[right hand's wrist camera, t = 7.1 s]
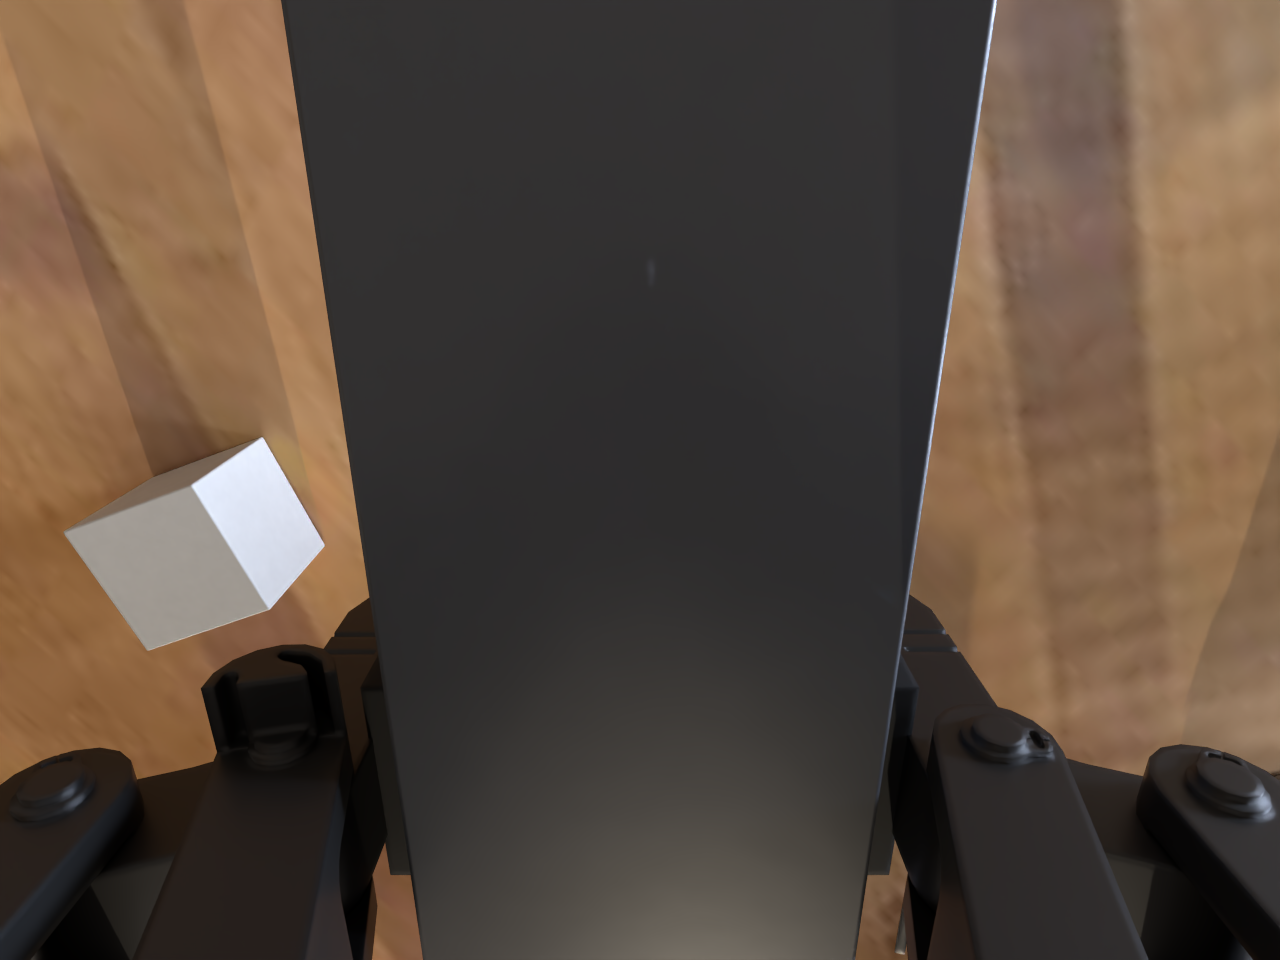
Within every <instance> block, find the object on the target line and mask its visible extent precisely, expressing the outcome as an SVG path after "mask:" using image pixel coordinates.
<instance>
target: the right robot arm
mask: <svg viewBox="0 0 1280 960" xmlns="http://www.w3.org/2000/svg"><path fill="white" fill-rule="evenodd" d="M201 691H202V695H203V699H204V703H205V707H206V711H207V714H208V718H209V722H210V726H211V730H212V734H213V738H214V742H215V746H216V750H217V754H216V756H215V759H214V761H213V762H210V763H207V764H203V765H200V766H196V767H192V768H188V769H183V770H179V771H174V772H170V773H165V774H160V775H156V776H151V777H147V778H142V779H138V780H137V778H136V775H135V772H134V769H133V765H132V762H131V760H130V759H128V758H127V757H126V756H125V755H124V754H123V753H121V752H120V751H116V750H110V749H104V748H93V749H84V750H75V751H71V752H68V753H64V754H60V755H58V756H53V757H51V758H48V759H45V760H42V761H40V762H39V763H37V764H35V765H33V766H31V767H29V768H27V769H25V770H23V771H21V772H19V773H17V774H15V775H13V776H12V777H11V778H9V779H8V780H7V781H5V782H4V783H3V784H1V785H0V960H372V954H373V944H374V934H375V924H376V914H377V900H376V894H375V887H374V881H373V876H372V875H373V872H374V869H375V867H376V864H377V862H378V859H379V856H380V854H381V851H382V849H383V846H384V843H385V844H386V850H387V856H388V862H389V868H390V874H391V875H411V873H410V867H409V860H408V853H407V846H406V840H405V833H404V826H403V819H402V813H401V806H400V799H399V792H398V786H397V779H396V772H395V765H394V759H393V752H392V745H391V738H390V732H389V725H388V718H387V711H386V705H385V698H384V691H383V684H382V678H381V671H380V664H379V657H378V651H377V644H376V637H375V630H374V624H373V617H372V610H371V603H370V598H368V599H367V600H365V601H364V602H362V603H361V604H360V605H358V606H357V607H355V608H354V609H352V610H351V611H349V612H348V614H347V615H346V617H345V618H344V620H343V621H342V623H341V624H340V626H339V627H338V628H337V630H336V631H335V635H334V637H331V639H330V640H329V642H328V643H327V645H326V646H325V648H324V649H321V648H317V647H314V646H310V645H306V644H304V645H280V646H275V647H270V648H266V649H261V650H257V651H254V652H252V653H249V654H247V655H244V656H242V657H240V658H237V659H235V660H233V661H231V662H230V663H228V664H227V665H225V666H224V667H222V668H221V669H219V670H218V671H216V672H215V673H213V674H212V675H211V677H210V678H209V679H208V680H207V682H206V683H205V684H204V685H203V686H202V688H201ZM894 840H895V841H896V844H897V846H898V849H899V851H900V854H901V856H902V859H903V862H904V864H905V867H906V869H907V872H908V876H907V881H906V887H905V893H904V899H903V904H902V910H901V916H900V922H899V927H898V933H897V939H896V946H895V953H900V954H905V949H906V944H907V952H908V960H1280V775H1277V776H1274V777H1273V776H1272V775H1271V774H1269V773H1268V772H1267V771H1265V770H1263V769H1261V768H1259V767H1257V766H1255V765H1253V764H1251V763H1249V762H1247V761H1245V760H1243V759H1241V758H1239V757H1237V756H1234V755H1231V754H1228V753H1225V752H1221V751H1219V750H1214V749H1211V748H1208V747H1200V746H1191V745H1182V744H1180V745H1174V746H1168V747H1162V748H1160V749H1159V750H1157V751H1156V752H1155V753H1154V754H1153V755H1151V756H1150V757H1149V760H1148V763H1147V766H1146V770H1145V773H1144V776H1139V775H1134V774H1130V773H1125V772H1121V771H1116V770H1111V769H1107V768H1102V767H1097V766H1093V765H1088V764H1085V763H1081V762H1078V761H1074V760H1070V759H1067V758H1065V755H1064V753H1063V751H1062V749H1061V748H1060V747H1059V745H1058V744H1057V742H1056V741H1055V739H1054V738H1053V736H1052V735H1051V734H1049V733H1048V732H1047V731H1045V730H1044V729H1043V728H1042V727H1040V726H1039V725H1038V724H1036V723H1035V722H1034V721H1032V720H1030V719H1028V718H1026V717H1024V716H1021V715H1019V714H1017V713H1015V712H1013V711H1011V710H1008V709H1003V708H999V707H997V705H996V704H995V702H994V701H993V699H992V698H991V696H990V695H989V693H988V692H987V691H986V689H985V688H984V686H983V685H982V683H981V682H980V680H979V679H978V677H977V676H976V674H975V673H974V671H973V670H972V669H971V667H970V666H969V664H968V663H967V661H966V660H965V658H964V657H963V655H962V654H961V652H957V647H956V645H955V644H954V642H953V641H952V639H951V638H950V636H949V635H948V634H946V633H945V629H944V627H943V626H942V625H941V623H940V622H939V620H938V619H937V617H936V616H935V614H934V613H933V611H932V610H931V609H930V608H928V607H927V606H925V605H924V604H922V603H921V602H920V601H918V600H917V599H915V598H914V597H912V596H911V595H909V597H908V604H907V611H906V618H905V625H904V631H903V638H902V645H901V652H900V658H899V665H898V672H897V679H896V685H895V692H894V699H893V706H892V712H891V719H890V726H889V733H888V739H887V746H886V753H885V760H884V766H883V773H882V780H881V787H880V793H879V800H878V807H877V814H876V820H875V827H874V834H873V841H872V847H871V854H870V861H869V868H868V874H867V875H889V871H890V865H891V859H892V853H893V847H894Z"/></svg>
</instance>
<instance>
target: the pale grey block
mask: <svg viewBox="0 0 1280 960" xmlns="http://www.w3.org/2000/svg"><path fill="white" fill-rule="evenodd" d="M64 534H65V536H66V537H67V539H68V540H69V541H70V543H71V544H72V546H73V547H74V548H75V550H76V551H77V553H78V554H79V556H80V557H81V558H82V560H83V561H84V563H85V564H86V565H87V567H88V568H89V570H90V571H91V572H92V574H93V575H94V577H95V578H96V579H97V581H98V582H99V584H100V585H101V586H102V588H103V589H104V591H105V592H106V593H107V595H108V596H109V598H110V599H111V600H112V602H113V603H114V605H115V606H116V608H117V609H118V610H119V612H120V613H121V615H122V616H123V617H124V619H125V620H126V622H127V623H128V624H129V626H130V627H131V629H132V630H133V631H134V633H135V634H136V636H137V637H138V638H139V640H140V641H141V643H142V644H143V645H144V647H145V648H146V650H151V649H154V648H157V647H160V646H163V645H166V644H169V643H172V642H175V641H178V640H181V639H184V638H187V637H190V636H193V635H196V634H199V633H202V632H205V631H208V630H211V629H213V628H216V627H219V626H222V625H225V624H228V623H231V622H234V621H237V620H240V619H243V618H246V617H249V616H252V615H255V614H258V613H261V612H264V611H267V610H270V609H271V607H272V606H273V605H274V604H275V603H276V602H277V601H278V599H279V598H280V597H281V596H282V595H283V594H284V592H285V591H286V590H287V589H288V588H289V587H290V585H291V584H292V583H293V582H294V581H295V580H296V579H297V577H298V576H299V575H300V574H301V573H302V572H303V570H304V569H305V568H306V567H307V566H308V565H309V563H310V562H311V561H312V560H313V559H314V558H315V557H316V555H317V554H318V553H319V552H320V551H321V550H322V548H323V547H324V546H325V545H324V543H323V541H322V539H321V538H320V536H319V534H318V532H317V531H316V529H315V527H314V526H313V524H312V522H311V520H310V519H309V517H308V515H307V513H306V512H305V510H304V508H303V506H302V505H301V503H300V501H299V499H298V498H297V496H296V494H295V492H294V491H293V489H292V487H291V486H290V484H289V482H288V480H287V479H286V477H285V475H284V473H283V472H282V470H281V468H280V466H279V465H278V463H277V461H276V459H275V458H274V456H273V454H272V452H271V451H270V449H269V447H268V446H267V444H266V442H265V440H264V439H263V438H262V437H260V438H257V439H255V440H252V441H249V442H247V443H244V444H241V445H239V446H236V447H233V448H230V449H228V450H225V451H222V452H220V453H217V454H214V455H212V456H209V457H206V458H204V459H201V460H198V461H195V462H193V463H190V464H187V465H185V466H182V467H179V468H177V469H174V470H171V471H169V472H166V473H163V474H160V475H158V476H155V477H152V478H151V479H149V480H147V481H146V482H144V483H142V484H141V485H139V486H137V487H136V488H134V489H133V490H131V491H129V492H128V493H126V494H124V495H123V496H121V497H119V498H118V499H116V500H114V501H113V502H111V503H109V504H108V505H106V506H105V507H103V508H101V509H100V510H98V511H96V512H95V513H93V514H91V515H90V516H88V517H86V518H85V519H83V520H81V521H80V522H78V523H77V524H75V525H73V526H72V527H70V528H68V529H67V530H65V531H64Z"/></svg>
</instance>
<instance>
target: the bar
mask: <svg viewBox="0 0 1280 960" xmlns="http://www.w3.org/2000/svg"><path fill="white" fill-rule="evenodd" d="M281 3H282V9H283V16H284V23H285V30H286V36H287V43H288V50H289V57H290V63H291V70H292V77H293V84H294V90H295V97H296V104H297V111H298V117H299V124H300V131H301V138H302V144H303V151H304V158H305V165H306V171H307V178H308V185H309V192H310V198H311V205H312V212H313V219H314V225H315V232H316V239H317V246H318V252H319V259H320V266H321V273H322V279H323V286H324V293H325V300H326V306H327V313H328V320H329V327H330V333H331V340H332V347H333V354H334V360H335V367H336V374H337V381H338V387H339V394H340V401H341V408H342V414H343V421H344V428H345V435H346V441H347V448H348V455H349V462H350V468H351V475H352V482H353V489H354V495H355V502H356V509H357V516H358V522H359V529H360V536H361V543H362V549H363V556H364V563H365V570H366V576H367V583H368V590H369V597H370V603H371V610H372V617H373V624H374V630H375V637H376V644H377V651H378V657H379V664H380V671H381V678H382V684H383V691H384V698H385V705H386V711H387V718H388V725H389V732H390V738H391V745H392V752H393V759H394V765H395V772H396V779H397V786H398V792H399V799H400V806H401V813H402V819H403V826H404V833H405V840H406V846H407V853H408V860H409V867H410V873H411V880H412V887H413V894H414V900H415V907H416V914H417V921H418V927H419V934H420V941H421V948H422V954H423V960H855V956H856V949H857V942H858V935H859V929H860V922H861V915H862V908H863V901H864V895H865V888H866V881H867V874H868V868H869V861H870V854H871V847H872V841H873V834H874V827H875V820H876V814H877V807H878V800H879V793H880V787H881V780H882V773H883V766H884V760H885V753H886V746H887V739H888V733H889V726H890V719H891V712H892V706H893V699H894V692H895V685H896V679H897V672H898V665H899V658H900V652H901V645H902V638H903V631H904V625H905V618H906V611H907V604H908V597H909V591H910V584H911V577H912V570H913V564H914V557H915V550H916V543H917V537H918V530H919V523H920V516H921V510H922V503H923V496H924V489H925V483H926V476H927V469H928V462H929V456H930V449H931V442H932V435H933V429H934V422H935V415H936V408H937V402H938V395H939V388H940V381H941V375H942V368H943V361H944V354H945V348H946V341H947V334H948V327H949V321H950V314H951V307H952V300H953V294H954V287H955V280H956V273H957V266H958V260H959V253H960V246H961V239H962V233H963V226H964V219H965V212H966V206H967V199H968V192H969V185H970V179H971V172H972V165H973V158H974V152H975V145H976V138H977V131H978V125H979V118H980V111H981V104H982V98H983V91H984V84H985V77H986V71H987V64H988V57H989V50H990V44H991V37H992V30H993V23H994V17H995V10H996V3H997V0H281Z"/></svg>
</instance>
